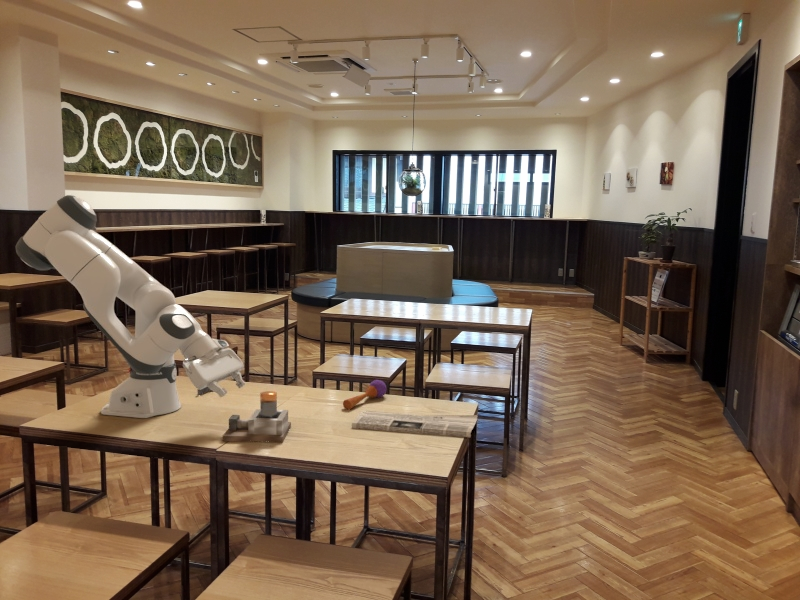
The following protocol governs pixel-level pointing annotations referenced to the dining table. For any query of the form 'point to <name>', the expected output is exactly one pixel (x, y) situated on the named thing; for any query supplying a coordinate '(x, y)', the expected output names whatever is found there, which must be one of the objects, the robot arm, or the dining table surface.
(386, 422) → the newspaper
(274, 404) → the orange topped cylinder
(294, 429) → the dining table surface
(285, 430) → the shaft base
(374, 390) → the kendama
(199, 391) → the animal figurine
